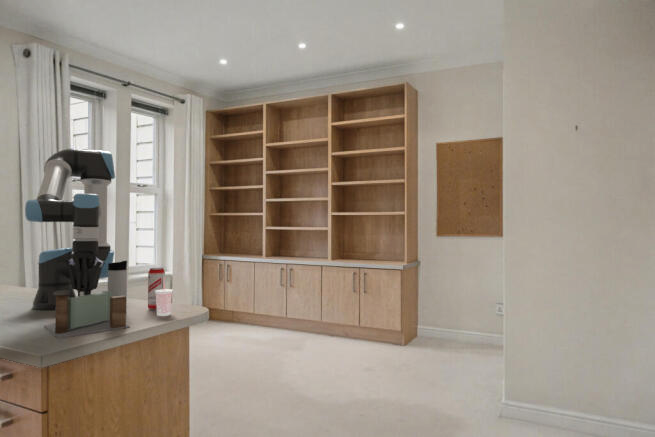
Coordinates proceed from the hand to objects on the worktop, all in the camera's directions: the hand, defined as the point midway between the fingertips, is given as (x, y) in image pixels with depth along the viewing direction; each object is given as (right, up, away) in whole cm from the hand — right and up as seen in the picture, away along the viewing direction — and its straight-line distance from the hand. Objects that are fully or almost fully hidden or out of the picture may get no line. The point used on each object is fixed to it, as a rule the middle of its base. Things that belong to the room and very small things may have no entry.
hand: (83, 310), depth 143 cm
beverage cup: (+20, -5, +16) cm, 26 cm away
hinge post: (0, -4, -12) cm, 13 cm away
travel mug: (+4, -5, +14) cm, 16 cm away
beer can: (+14, -5, +26) cm, 30 cm away
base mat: (+3, -5, -3) cm, 6 cm away
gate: (+3, -4, -3) cm, 6 cm away
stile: (+13, -5, -4) cm, 15 cm away
